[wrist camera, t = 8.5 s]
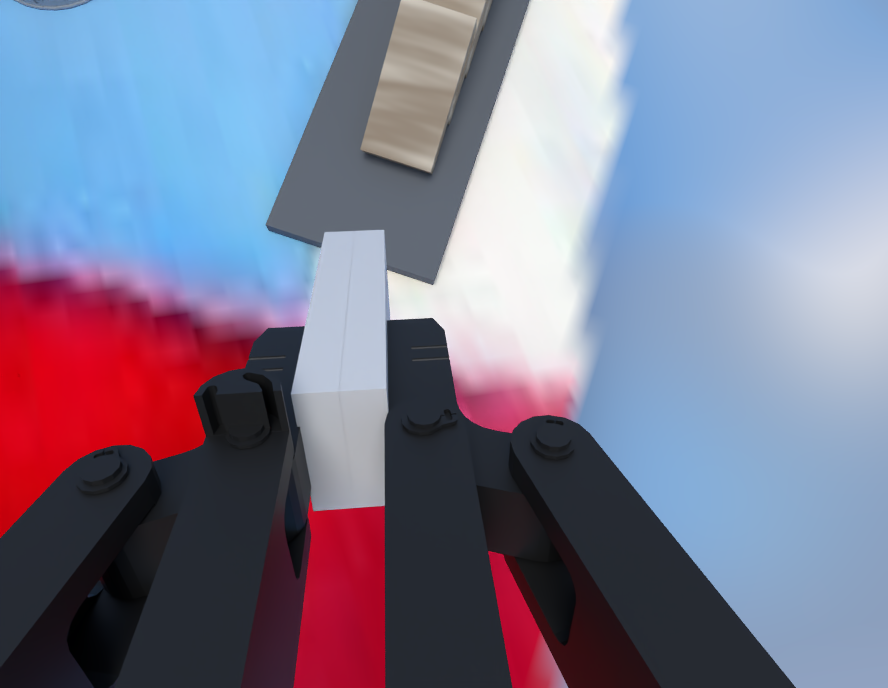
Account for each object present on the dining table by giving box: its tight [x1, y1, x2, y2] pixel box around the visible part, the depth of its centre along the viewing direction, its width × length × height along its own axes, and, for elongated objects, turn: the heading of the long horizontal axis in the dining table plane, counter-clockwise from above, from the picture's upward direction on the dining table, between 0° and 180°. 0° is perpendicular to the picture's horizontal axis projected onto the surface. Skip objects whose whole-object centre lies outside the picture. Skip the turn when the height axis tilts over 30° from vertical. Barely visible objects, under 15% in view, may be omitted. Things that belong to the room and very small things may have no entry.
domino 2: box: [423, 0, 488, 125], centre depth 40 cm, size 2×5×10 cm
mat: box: [266, 0, 529, 285], centre depth 43 cm, size 30×12×1 cm, turn 162°
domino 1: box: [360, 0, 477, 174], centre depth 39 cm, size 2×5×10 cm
